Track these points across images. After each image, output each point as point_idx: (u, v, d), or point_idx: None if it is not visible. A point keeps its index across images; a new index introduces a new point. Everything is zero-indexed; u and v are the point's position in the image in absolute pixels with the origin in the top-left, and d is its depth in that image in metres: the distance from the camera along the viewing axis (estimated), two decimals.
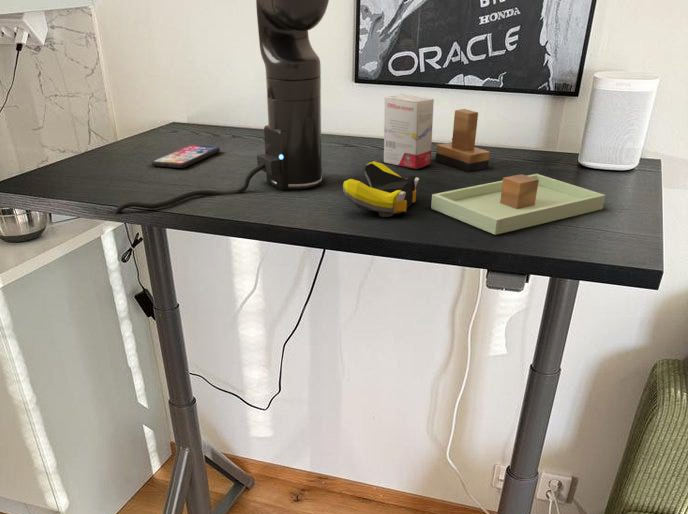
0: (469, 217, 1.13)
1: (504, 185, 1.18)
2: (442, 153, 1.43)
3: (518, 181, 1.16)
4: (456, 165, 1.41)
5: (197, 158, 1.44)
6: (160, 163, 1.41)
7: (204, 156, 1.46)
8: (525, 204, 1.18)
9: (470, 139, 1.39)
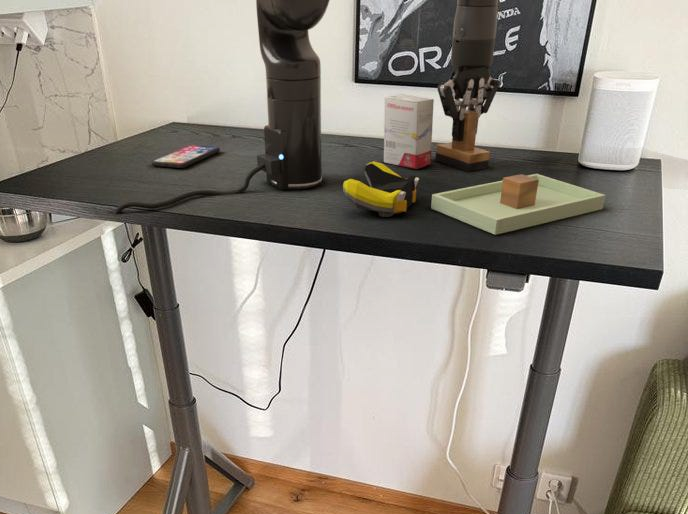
0: (469, 217, 1.13)
1: (504, 185, 1.18)
2: (442, 153, 1.43)
3: (518, 181, 1.16)
4: (456, 165, 1.41)
5: (197, 158, 1.44)
6: (160, 163, 1.41)
7: (204, 156, 1.46)
8: (525, 204, 1.18)
9: (470, 139, 1.39)
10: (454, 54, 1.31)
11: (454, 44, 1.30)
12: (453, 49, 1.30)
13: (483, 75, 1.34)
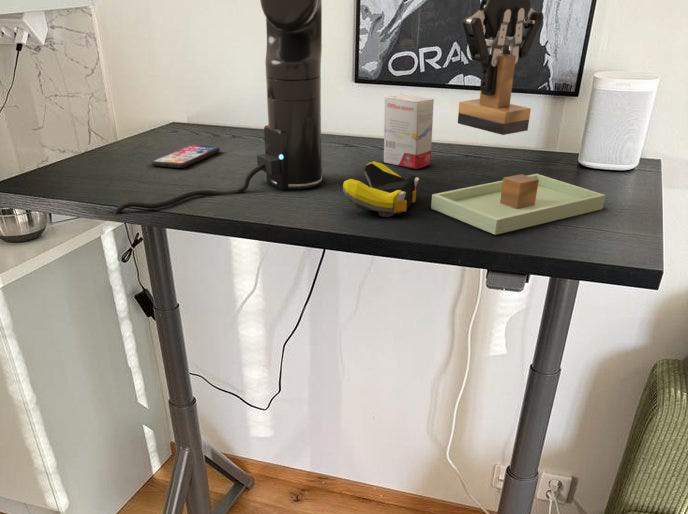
0: (469, 217, 1.13)
1: (504, 185, 1.18)
2: (467, 113, 1.10)
3: (518, 181, 1.16)
4: (486, 127, 1.07)
5: (197, 158, 1.44)
6: (160, 163, 1.41)
7: (204, 156, 1.46)
8: (525, 204, 1.18)
9: (505, 92, 1.05)
10: None
11: None
12: None
13: (523, 5, 1.01)
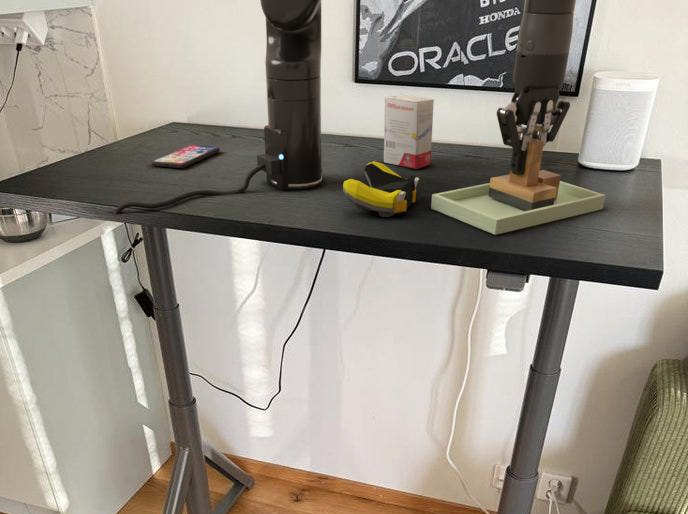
0: (469, 217, 1.13)
1: None
2: (497, 188, 1.20)
3: (541, 177, 1.18)
4: (515, 203, 1.17)
5: (197, 158, 1.44)
6: (160, 163, 1.41)
7: (204, 156, 1.46)
8: None
9: (533, 173, 1.15)
10: (518, 72, 1.07)
11: (519, 59, 1.06)
12: (517, 65, 1.07)
13: (551, 96, 1.10)
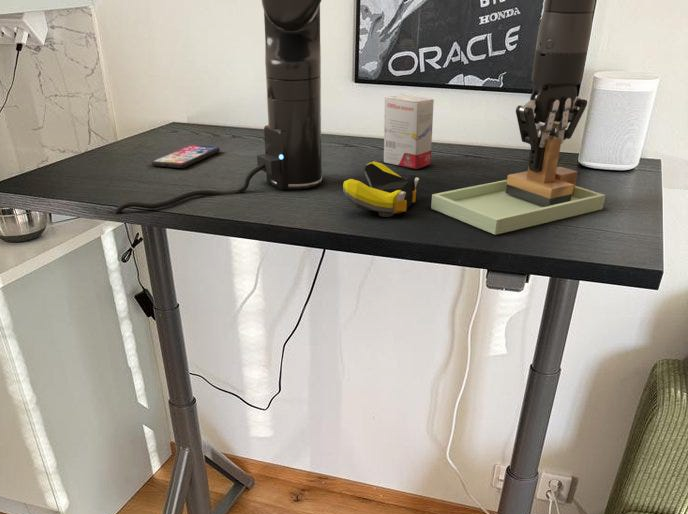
0: (469, 217, 1.13)
1: None
2: (515, 185, 1.21)
3: (558, 173, 1.20)
4: (533, 200, 1.19)
5: (197, 158, 1.44)
6: (160, 163, 1.41)
7: (204, 156, 1.46)
8: None
9: (551, 169, 1.17)
10: (537, 70, 1.09)
11: (538, 58, 1.08)
12: (536, 64, 1.09)
13: (569, 94, 1.12)
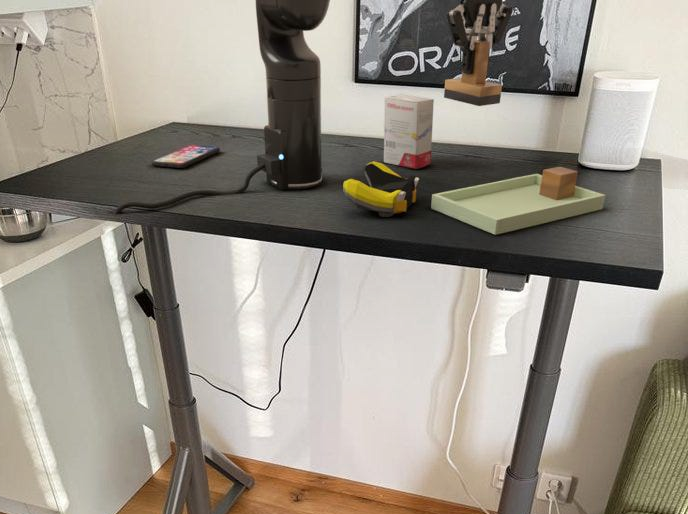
0: (469, 217, 1.13)
1: (544, 177, 1.22)
2: (451, 88, 1.35)
3: (558, 173, 1.20)
4: (466, 100, 1.33)
5: (197, 158, 1.44)
6: (160, 163, 1.41)
7: (204, 156, 1.46)
8: (564, 195, 1.22)
9: (481, 71, 1.30)
10: None
11: None
12: None
13: (495, 1, 1.26)
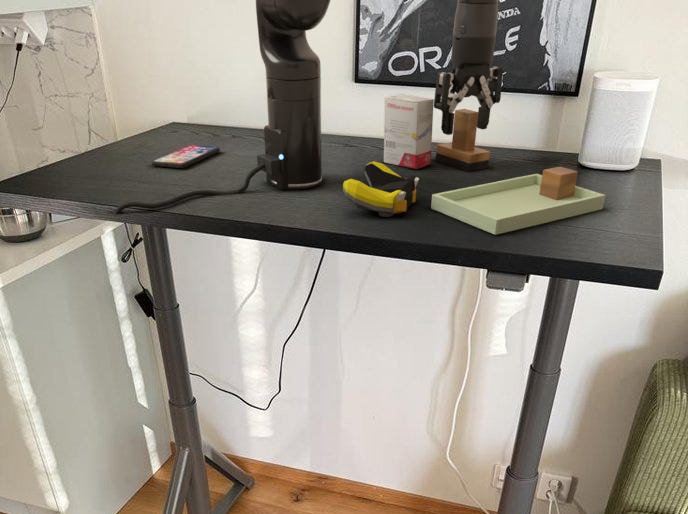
0: (469, 217, 1.13)
1: (544, 177, 1.22)
2: (442, 153, 1.43)
3: (558, 173, 1.20)
4: (456, 165, 1.41)
5: (197, 158, 1.44)
6: (160, 163, 1.41)
7: (204, 156, 1.46)
8: (564, 195, 1.22)
9: (470, 139, 1.39)
10: (454, 52, 1.30)
11: (454, 41, 1.30)
12: (453, 46, 1.30)
13: (483, 73, 1.34)
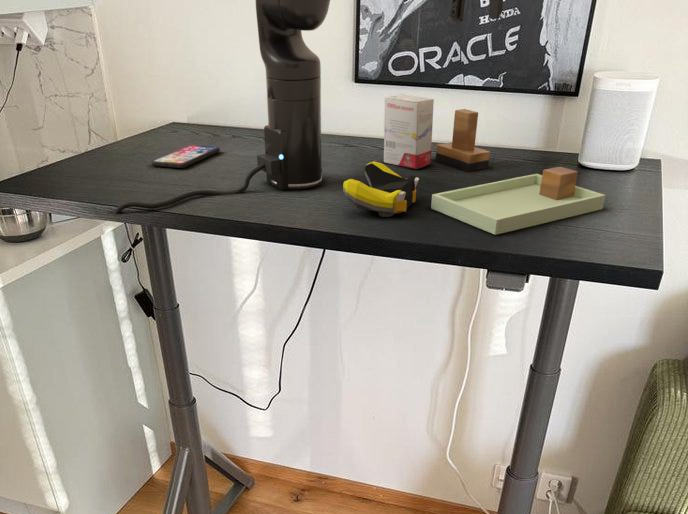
0: (469, 217, 1.13)
1: (544, 177, 1.22)
2: (442, 153, 1.43)
3: (558, 173, 1.20)
4: (456, 165, 1.41)
5: (197, 158, 1.44)
6: (160, 163, 1.41)
7: (204, 156, 1.46)
8: (564, 195, 1.22)
9: (470, 139, 1.39)
10: None
11: None
12: None
13: None
